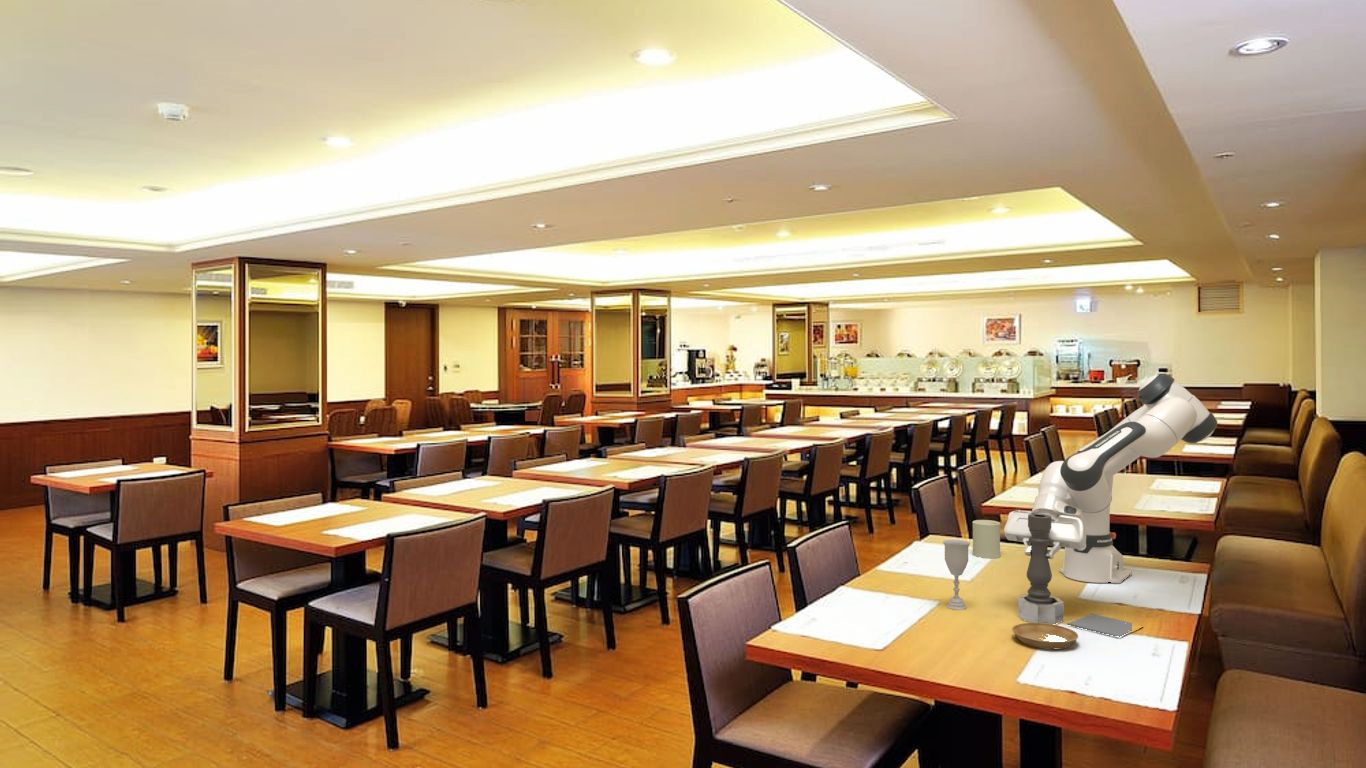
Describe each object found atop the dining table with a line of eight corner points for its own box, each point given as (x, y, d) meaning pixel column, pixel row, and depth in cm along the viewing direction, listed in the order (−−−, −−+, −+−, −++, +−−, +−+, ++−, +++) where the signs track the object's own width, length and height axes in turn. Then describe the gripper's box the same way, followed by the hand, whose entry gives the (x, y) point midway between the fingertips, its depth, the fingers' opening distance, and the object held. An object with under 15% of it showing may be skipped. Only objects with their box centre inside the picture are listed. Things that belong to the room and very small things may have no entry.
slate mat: (1092, 615, 224) (1092, 613, 224) (1143, 627, 213) (1143, 625, 213) (1067, 625, 216) (1067, 623, 216) (1119, 638, 205) (1119, 636, 205)
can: (997, 559, 286) (997, 524, 286) (969, 556, 291) (969, 521, 291) (1003, 554, 294) (1003, 520, 293) (976, 551, 299) (976, 517, 298)
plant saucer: (998, 636, 209) (998, 626, 208) (1045, 629, 214) (1045, 619, 214) (1043, 656, 195) (1043, 645, 195) (1092, 648, 200) (1092, 637, 200)
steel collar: (1032, 610, 229) (1032, 591, 229) (1069, 619, 221) (1069, 600, 221) (1012, 617, 223) (1012, 598, 223) (1048, 627, 215) (1048, 607, 215)
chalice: (971, 605, 234) (971, 540, 234) (969, 611, 228) (969, 545, 228) (944, 602, 237) (944, 538, 237) (940, 608, 231) (940, 543, 231)
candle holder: (1021, 607, 225) (1022, 513, 224) (1044, 606, 225) (1045, 513, 225) (1033, 614, 219) (1034, 518, 218) (1056, 613, 219) (1057, 517, 218)
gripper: (1007, 502, 233) (995, 543, 226) (1087, 510, 220) (1077, 554, 213) (1013, 515, 237) (1001, 557, 230) (1091, 524, 224) (1081, 568, 217)
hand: (1038, 556), depth 221 cm, fingers closed on candle holder, 4 cm apart
